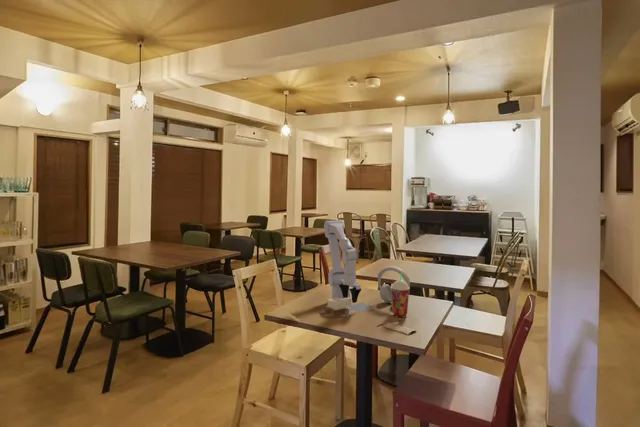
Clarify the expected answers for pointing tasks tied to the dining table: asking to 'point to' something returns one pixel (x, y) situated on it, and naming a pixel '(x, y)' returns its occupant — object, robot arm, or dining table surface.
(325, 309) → the turntable
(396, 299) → the smoothie
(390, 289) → the headphones
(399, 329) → the newspaper
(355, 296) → the robot arm
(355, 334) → the dining table surface
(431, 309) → the dining table surface
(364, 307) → the board
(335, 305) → the beige upright block
